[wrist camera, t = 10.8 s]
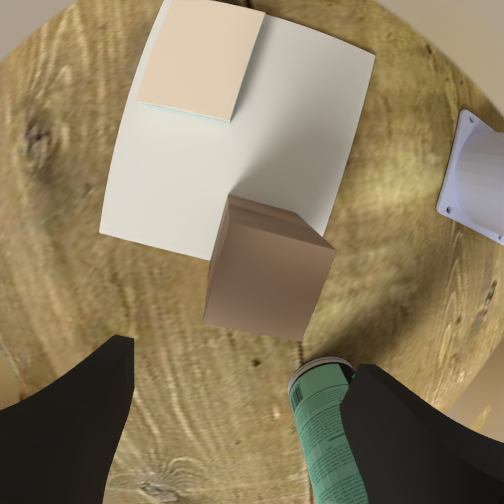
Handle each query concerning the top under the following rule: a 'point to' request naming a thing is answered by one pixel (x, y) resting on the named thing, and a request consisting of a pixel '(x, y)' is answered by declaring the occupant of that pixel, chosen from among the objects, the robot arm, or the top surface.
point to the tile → (200, 58)
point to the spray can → (326, 430)
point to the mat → (240, 143)
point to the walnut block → (265, 270)
